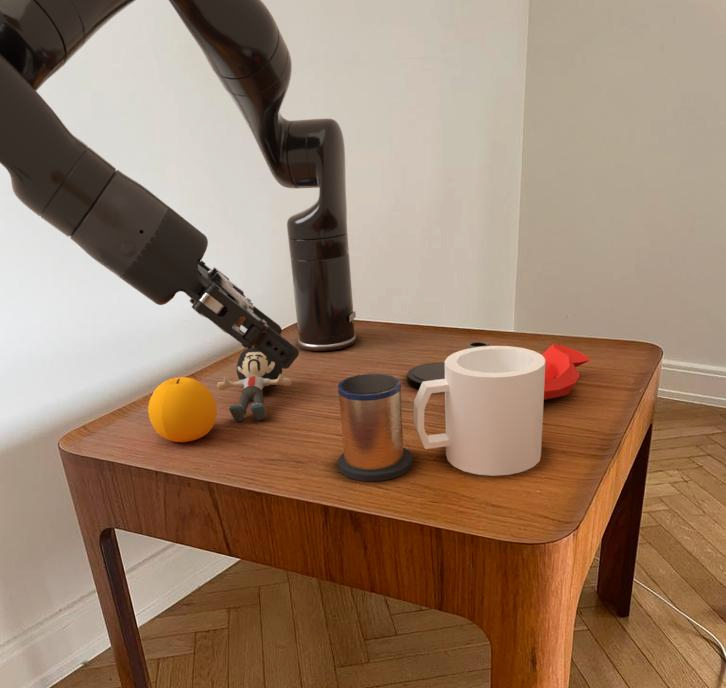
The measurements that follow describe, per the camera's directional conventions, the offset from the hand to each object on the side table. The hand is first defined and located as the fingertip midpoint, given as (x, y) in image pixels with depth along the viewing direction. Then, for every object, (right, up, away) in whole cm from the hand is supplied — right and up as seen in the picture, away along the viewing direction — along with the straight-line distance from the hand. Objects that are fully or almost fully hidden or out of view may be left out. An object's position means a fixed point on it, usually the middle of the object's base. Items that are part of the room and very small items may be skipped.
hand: (284, 348), depth 72 cm
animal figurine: (+31, -1, +26) cm, 40 cm away
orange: (-14, -8, +19) cm, 25 cm away
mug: (+21, -10, +9) cm, 25 cm away
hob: (+18, +1, +31) cm, 36 cm away
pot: (+9, -10, +8) cm, 16 cm away
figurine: (-7, -2, +28) cm, 29 cm away
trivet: (+9, -11, +8) cm, 17 cm away
